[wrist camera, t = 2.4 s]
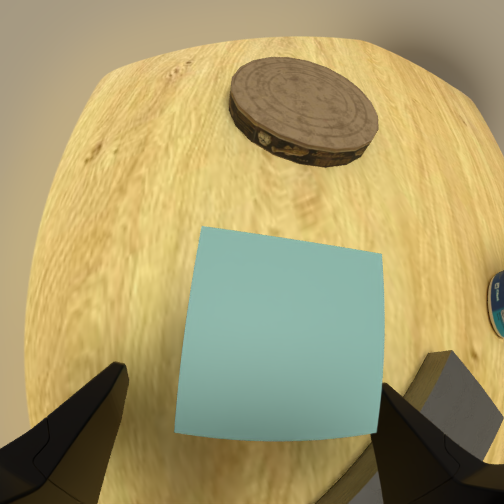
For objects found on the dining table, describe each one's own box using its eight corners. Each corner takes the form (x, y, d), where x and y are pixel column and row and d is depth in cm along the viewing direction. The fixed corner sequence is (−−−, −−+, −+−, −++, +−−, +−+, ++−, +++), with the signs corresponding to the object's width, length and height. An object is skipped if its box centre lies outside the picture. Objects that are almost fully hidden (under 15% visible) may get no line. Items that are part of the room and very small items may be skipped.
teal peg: (267, 384, 17) (376, 433, 5) (200, 377, 16) (174, 432, 4) (273, 321, 18) (381, 253, 6) (208, 313, 18) (201, 225, 6)
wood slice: (391, 152, 27) (404, 136, 24) (277, 189, 23) (285, 167, 20) (314, 71, 31) (320, 55, 28) (205, 86, 27) (206, 66, 24)
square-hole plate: (386, 551, 10) (400, 562, 8) (293, 522, 13) (304, 541, 10) (484, 417, 17) (503, 417, 14) (428, 353, 19) (451, 350, 16)
